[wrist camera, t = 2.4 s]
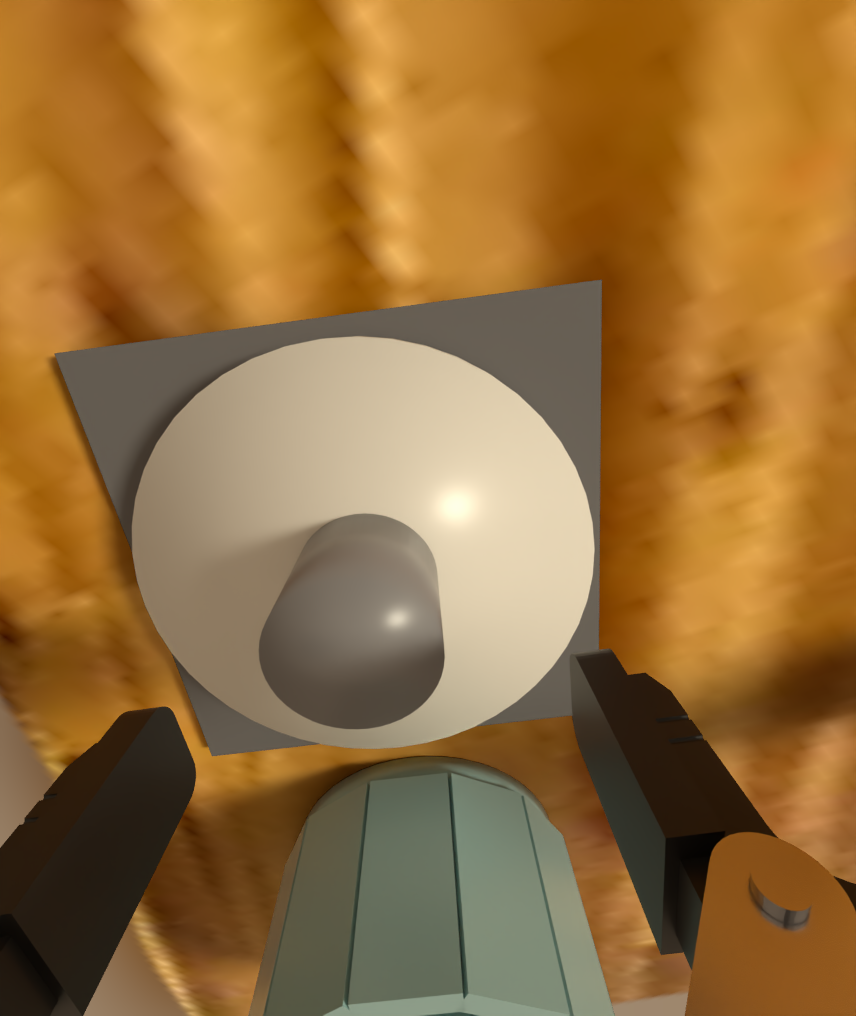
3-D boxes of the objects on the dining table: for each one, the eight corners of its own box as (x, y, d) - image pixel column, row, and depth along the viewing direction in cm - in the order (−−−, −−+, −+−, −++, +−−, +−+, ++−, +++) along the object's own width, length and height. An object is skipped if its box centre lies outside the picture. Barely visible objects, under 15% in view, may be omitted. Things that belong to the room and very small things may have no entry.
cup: (267, 769, 18) (181, 1021, 11) (553, 737, 18) (633, 976, 11) (325, 940, 22) (286, 1200, 15) (560, 915, 22) (622, 1169, 15)
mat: (67, 352, 12) (54, 353, 12) (594, 281, 12) (601, 279, 12) (217, 744, 17) (212, 755, 17) (593, 702, 17) (598, 712, 17)
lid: (80, 372, 12) (-97, 396, 8) (580, 303, 12) (670, 289, 8) (222, 745, 17) (159, 883, 13) (584, 701, 17) (642, 828, 12)
